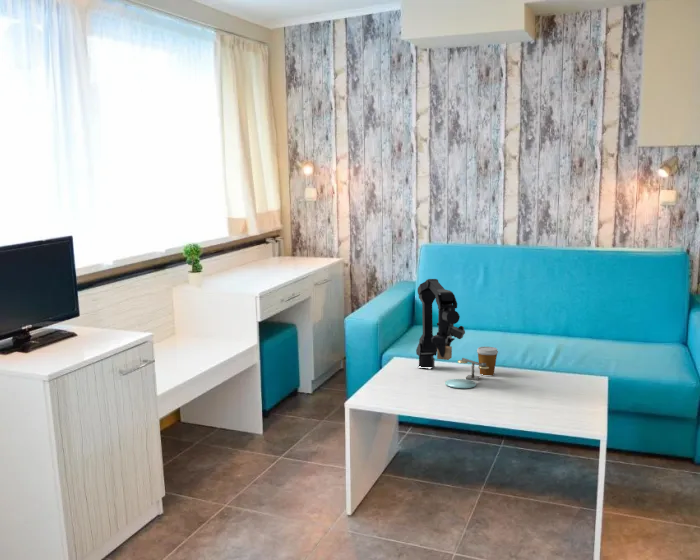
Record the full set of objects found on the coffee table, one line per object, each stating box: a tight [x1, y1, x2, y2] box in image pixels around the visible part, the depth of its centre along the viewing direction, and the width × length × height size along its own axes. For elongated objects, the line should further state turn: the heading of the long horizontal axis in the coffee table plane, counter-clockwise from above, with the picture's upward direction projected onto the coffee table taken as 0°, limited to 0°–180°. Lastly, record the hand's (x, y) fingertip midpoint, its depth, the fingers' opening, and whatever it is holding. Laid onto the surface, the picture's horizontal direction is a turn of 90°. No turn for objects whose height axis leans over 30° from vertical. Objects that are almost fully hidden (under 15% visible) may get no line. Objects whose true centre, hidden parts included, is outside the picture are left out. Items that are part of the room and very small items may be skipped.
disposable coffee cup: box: [476, 346, 499, 376], centre depth 305 cm, size 10×10×12 cm
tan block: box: [436, 345, 453, 361], centre depth 292 cm, size 5×5×5 cm
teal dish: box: [445, 378, 477, 389], centre depth 288 cm, size 13×13×1 cm
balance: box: [457, 357, 489, 381], centre depth 298 cm, size 14×5×9 cm, turn 65°
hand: (444, 355), depth 292 cm, fingers closed on tan block, 5 cm apart
